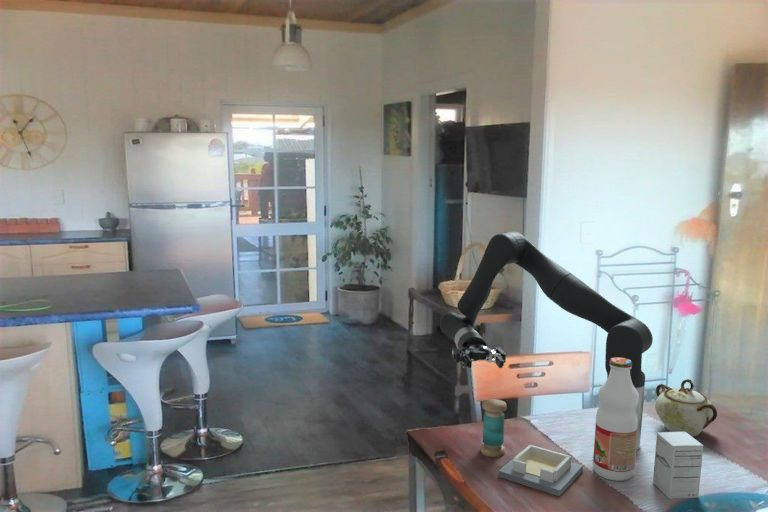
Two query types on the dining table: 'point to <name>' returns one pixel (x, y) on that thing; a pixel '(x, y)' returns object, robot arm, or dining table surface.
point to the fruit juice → (616, 424)
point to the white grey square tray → (542, 470)
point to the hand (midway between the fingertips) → (485, 364)
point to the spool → (493, 428)
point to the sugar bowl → (684, 409)
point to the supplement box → (677, 464)
